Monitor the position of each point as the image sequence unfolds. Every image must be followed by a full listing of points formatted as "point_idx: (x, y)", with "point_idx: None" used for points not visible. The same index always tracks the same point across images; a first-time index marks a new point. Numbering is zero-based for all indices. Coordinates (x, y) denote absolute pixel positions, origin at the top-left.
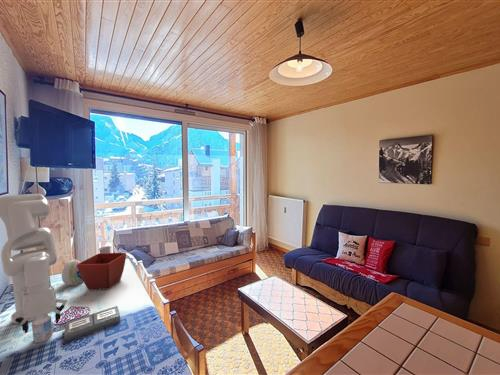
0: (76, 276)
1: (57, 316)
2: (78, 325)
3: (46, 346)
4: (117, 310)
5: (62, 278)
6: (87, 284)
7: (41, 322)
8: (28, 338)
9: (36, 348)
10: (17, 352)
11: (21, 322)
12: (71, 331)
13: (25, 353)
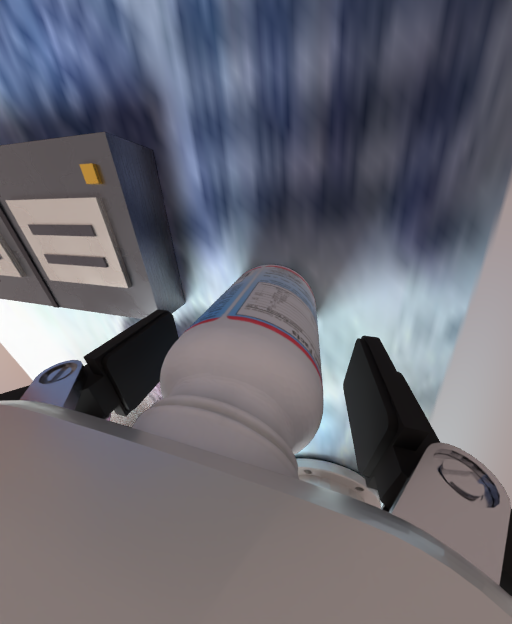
0: None
1: (109, 340)
2: (55, 210)
3: (249, 178)
4: None
5: None
6: None
7: (220, 331)
8: (337, 352)
9: (303, 201)
10: (407, 242)
11: (485, 499)
12: (74, 157)
13: (367, 182)
